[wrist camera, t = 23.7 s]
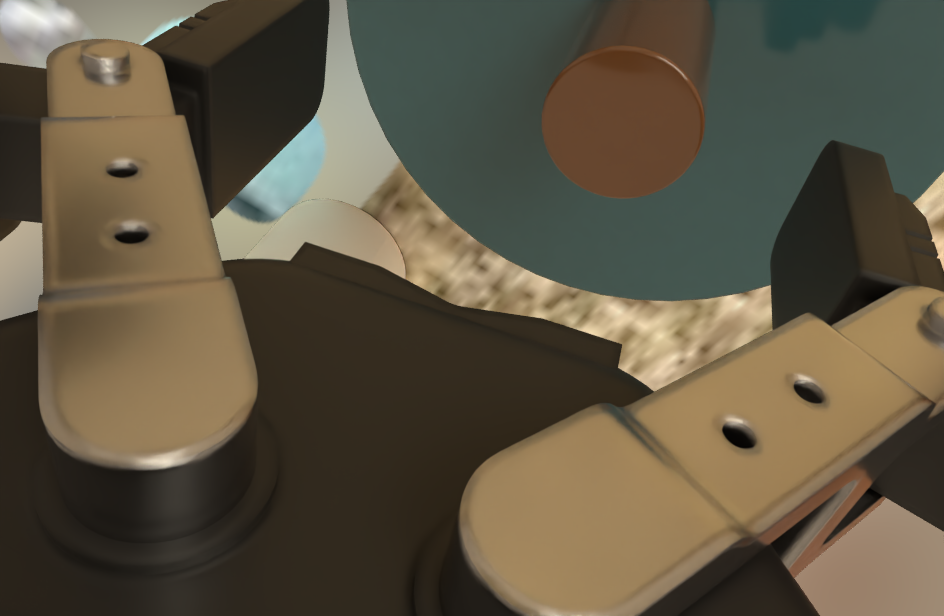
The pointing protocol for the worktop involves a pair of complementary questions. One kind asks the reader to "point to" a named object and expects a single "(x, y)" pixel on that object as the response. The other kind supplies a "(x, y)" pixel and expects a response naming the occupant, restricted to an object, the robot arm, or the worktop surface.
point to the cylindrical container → (331, 235)
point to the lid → (647, 123)
